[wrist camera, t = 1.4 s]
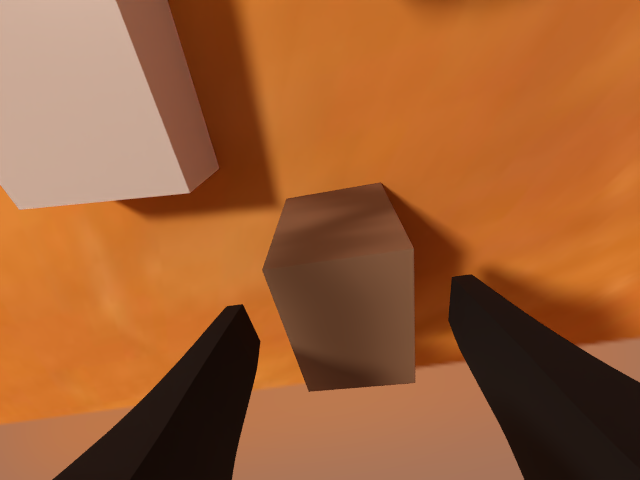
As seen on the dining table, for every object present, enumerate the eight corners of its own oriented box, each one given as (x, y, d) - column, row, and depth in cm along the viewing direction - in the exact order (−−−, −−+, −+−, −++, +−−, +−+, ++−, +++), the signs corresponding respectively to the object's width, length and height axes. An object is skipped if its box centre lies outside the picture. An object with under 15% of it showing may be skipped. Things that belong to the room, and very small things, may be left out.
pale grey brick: (129, -142, 7) (11, -272, 4) (222, 166, 11) (189, 193, 8) (-74, -100, 7) (-289, -194, 5) (88, 180, 11) (19, 209, 9)
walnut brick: (380, 181, 11) (414, 248, 7) (388, 289, 14) (415, 382, 10) (286, 198, 11) (262, 269, 7) (314, 298, 14) (309, 391, 10)
